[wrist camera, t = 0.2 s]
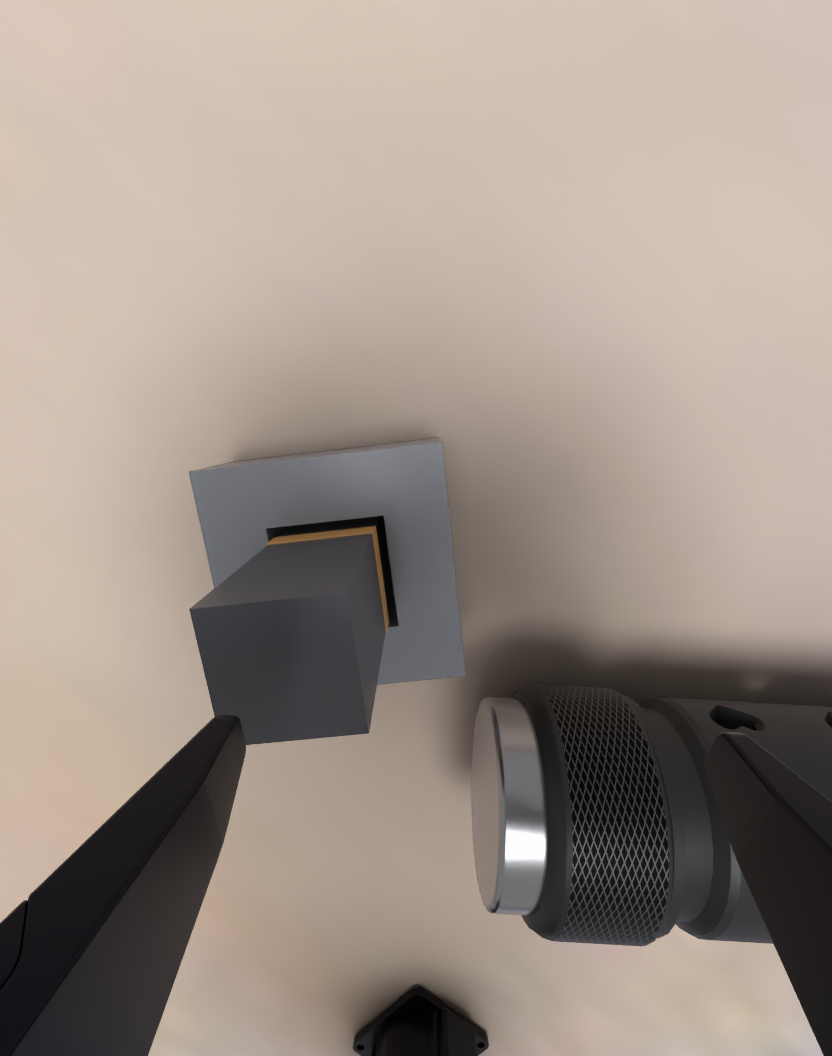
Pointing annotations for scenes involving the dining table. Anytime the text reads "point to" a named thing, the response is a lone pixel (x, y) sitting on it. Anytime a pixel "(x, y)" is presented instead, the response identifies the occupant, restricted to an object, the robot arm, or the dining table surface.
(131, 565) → the dining table surface
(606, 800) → the black cylindrical piece
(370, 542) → the plug
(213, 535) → the socket block
